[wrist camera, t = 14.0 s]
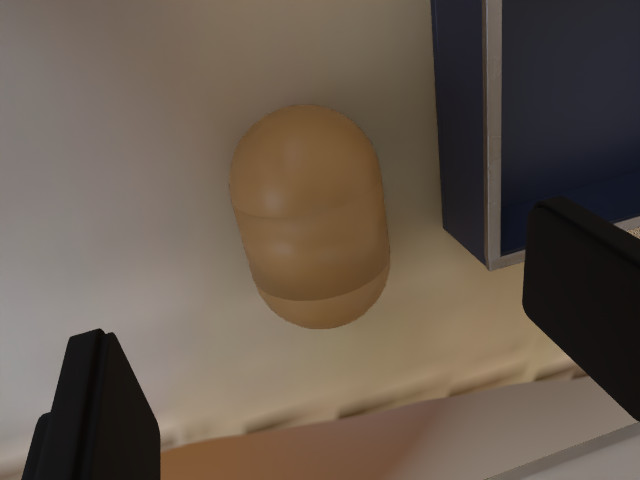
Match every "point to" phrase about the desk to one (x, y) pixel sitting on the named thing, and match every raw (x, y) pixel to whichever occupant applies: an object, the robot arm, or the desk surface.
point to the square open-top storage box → (535, 115)
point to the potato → (311, 215)
